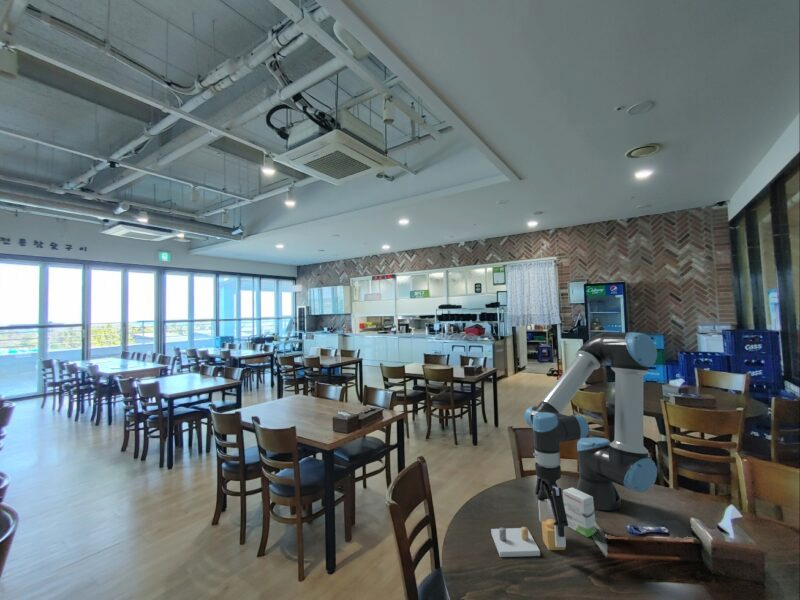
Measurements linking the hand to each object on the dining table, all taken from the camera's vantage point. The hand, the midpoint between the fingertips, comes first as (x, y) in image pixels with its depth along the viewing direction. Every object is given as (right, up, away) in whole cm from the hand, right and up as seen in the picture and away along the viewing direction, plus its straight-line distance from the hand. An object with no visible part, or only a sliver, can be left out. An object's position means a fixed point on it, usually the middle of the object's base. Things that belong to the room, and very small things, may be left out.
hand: (551, 533), depth 112 cm
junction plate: (-11, -4, +1) cm, 12 cm away
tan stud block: (+1, -4, 0) cm, 4 cm away
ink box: (+13, -4, +8) cm, 15 cm away
